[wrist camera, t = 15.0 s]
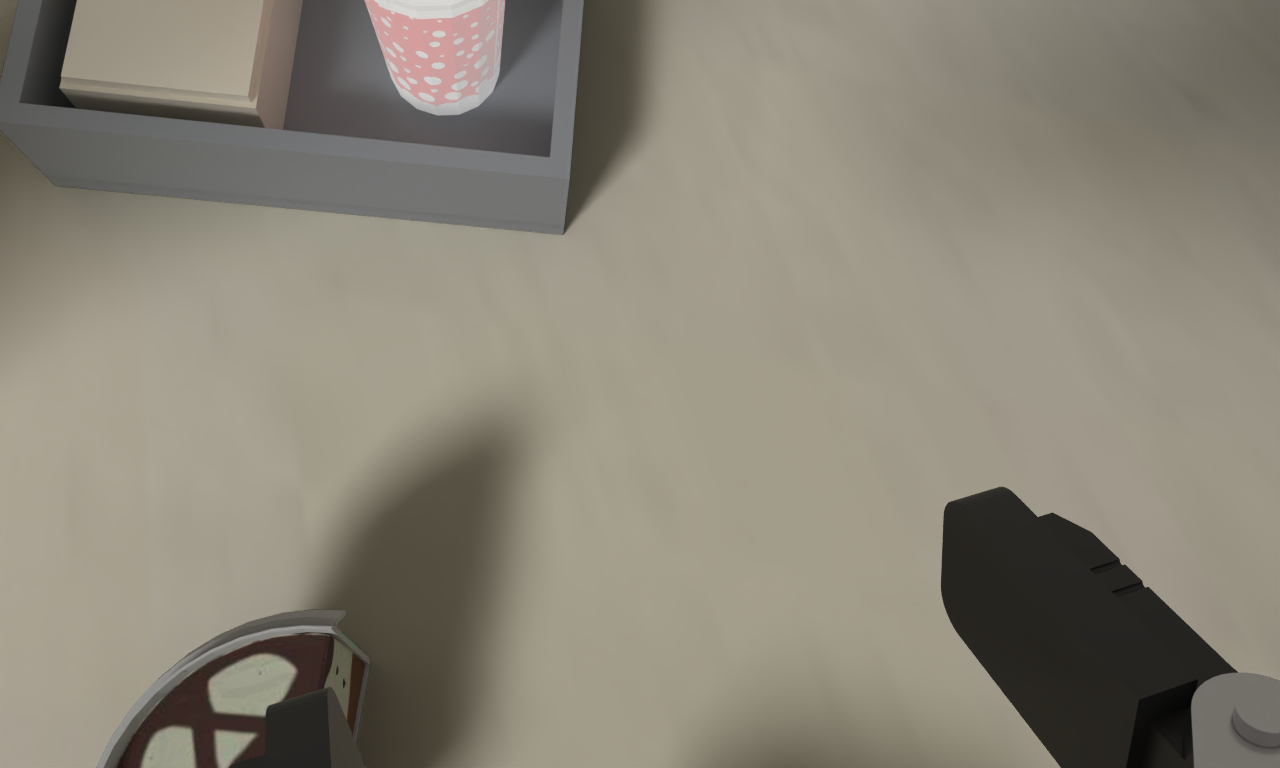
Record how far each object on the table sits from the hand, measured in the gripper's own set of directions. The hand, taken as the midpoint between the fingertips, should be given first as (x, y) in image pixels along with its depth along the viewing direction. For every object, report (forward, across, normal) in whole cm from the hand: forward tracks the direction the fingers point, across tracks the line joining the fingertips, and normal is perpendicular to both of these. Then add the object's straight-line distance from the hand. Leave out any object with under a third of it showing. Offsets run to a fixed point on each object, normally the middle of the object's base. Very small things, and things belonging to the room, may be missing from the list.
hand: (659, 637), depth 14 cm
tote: (+39, +3, +2) cm, 39 cm away
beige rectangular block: (+39, +7, 0) cm, 40 cm away
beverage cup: (+37, -2, +2) cm, 37 cm away
